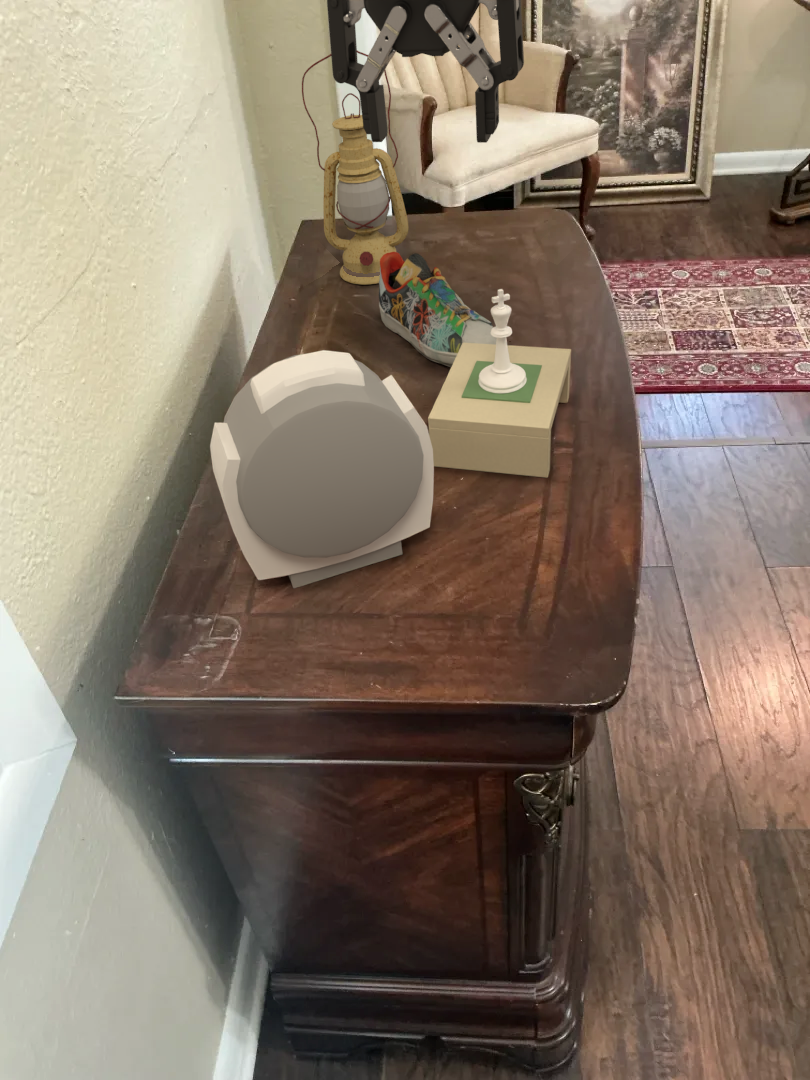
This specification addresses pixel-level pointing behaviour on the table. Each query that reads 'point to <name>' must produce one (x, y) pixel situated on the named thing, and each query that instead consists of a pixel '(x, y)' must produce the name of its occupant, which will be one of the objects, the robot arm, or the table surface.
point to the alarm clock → (322, 468)
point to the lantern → (361, 196)
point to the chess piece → (501, 354)
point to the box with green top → (499, 412)
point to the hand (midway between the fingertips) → (431, 139)
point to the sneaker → (427, 309)
